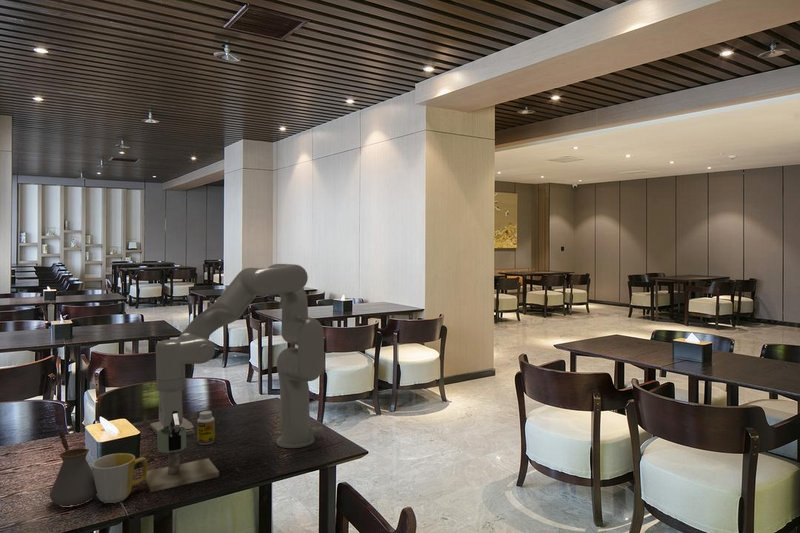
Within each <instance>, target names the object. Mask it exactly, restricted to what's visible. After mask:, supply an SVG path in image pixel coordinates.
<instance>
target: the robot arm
mask: <svg viewBox="0 0 800 533" xmlns="http://www.w3.org/2000/svg"><path fill="white" fill-rule="evenodd" d="M308 278H309V276H308V272H307V271H306V269H305V268H304V267H303V266H301V265H299V264H293V263H291V264H290V263H274V264H272V265H270V266H268V267H247V268H244V269H243V268H242V270H241V271H239V272H238V273H237V275H236V276H235V277H234V279H233V280H232V281H231V282H230V284H229V285H228V286H226V288H225V289H224V291H223V292H222V294H220V296H219V297H218V298H217V299H216V301H215V302H213V303H212V304H211V305H209V306H208V307H207V308H206V309H204V310H203V311H202V312H201V313H199V314H198V315H197V316H196V317H195V318H193V319H192V320H191V322H190V323H188V325H186V326H185V327H186V328H184V330H183V331H182V332H181V333H180V335H179V336H178V338H177V339H175V338H174V339H164V340H160V341H158V342H157V343H156V345H155V368H156V369H155V373H156V376H155V377H156V391H157V392H158V394H159V395H158V422H159V421H160V423H161V424H162V425H163V427H164V428H168V427H169V434H170V436H169V437H168V440H169V451H174V450H179V449H181V431H180V425H181V424H182V420H183V418H184V414H183V394H182V391H183V390H185V388H186V365H188V364H189V365H190V364H191V365H192V364H194V365H199V364H206V363H207V362H209V361H211V360H212V359H213V358H214V356H215V352H216V347H215V345H214V343H213V341H211V340H210V339H208V338H209V337H210V336H211V335H213V333H215V331H217V330H218V329H220V328H222V327H224V326H227V325H229V324H232V323H234V322H236V321H237V320H239V319H240V318H241V316H242V315H243V314H244V313H245V311H246V309H247V308H248V307H249V306H250V305H251V303H252V302H253V301H254V300H255V298H256V297H257V296H258V297H259V296H260V297H268V296H269V297H270V296H279V297H280V302H281V328H280V329H281V331H280V332H281V337H282V339H283V341H284V342H286V343H288V344H291V345H295V346H297V347H287V348H284V349H282V350H281V351H280V353H279V354H278V356H277V359H276V372H277V376H278V380H279V394H280V395H279V399H280V401H279V403H280V404H279V405H280V407H279V408H280V436H278V437H277V439H276V442H275V443H276V445H277V446H279V447H281V448H286V449H299V448H305V447H308V446H310V445H312V444H314V443H315V440H316V439H315V438H316V437H315V435H316V434H320V433H324V430H325V429H324V427H323V426H318V427H317V426H316V425H314V426H311V417H310V416H311V414H310V412H311V411H310V385H309V382H313V381H315V380H318V378H319V377H320V376H321V374H322V373H323V372H322V371H323V369H324V362H325V361H324V358H325V356H324V355H325V347H324V346H325V332H324V327H323V326H322V324H321V323H320V321H319V320H317V319H315V318H313V317H309V308H308V307H309V306H308V304H309V303H308V296H307V292H306V291H305V286H306V285H307V283H308ZM172 428H174V429H173V430H172Z"/></svg>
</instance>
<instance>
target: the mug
mask: <svg viewBox="0 0 800 533" xmlns="http://www.w3.org/2000/svg"><path fill="white" fill-rule="evenodd" d="M147 461H148V460H147V458H146V457H144V456H142V457H137V458H136V456H135V455H134V454H132V453H126V452H125V453H124V452H123V453H122V452H121V453H120V452H119V453H118V452H117V453H112V454H107V455H103V456H101V457H98V458H96V459H95V460H93V461H92V462H91V464H90V467H91V469H92V472H93V476H94V481H95V485H96V490H97V494H96V495H97V498H98V500H100V501H101V502H102V503H103V502H104V503H103V504H106V503H114V504H117V502H118V503H121V502H123V501H125V500H126V499H127V498H128V497H129V495H130V494H131V492H132V487H133V486H136V485H138V484H140V483H142V482H143V481H146V480H145V479H146V477H147V471H148V462H147ZM141 462H142V475H141V476H140V478H137V479H135V480H133V477H134V470H135V465H136V464H138V463H141ZM120 501H121V502H120Z"/></svg>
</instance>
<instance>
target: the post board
mask: <svg viewBox="0 0 800 533" xmlns="http://www.w3.org/2000/svg"><path fill="white" fill-rule="evenodd" d="M218 477H220V471H219V469H218V468H217V467H216V466H215V465H214V463H213V462H212V461H211V460H210V458H209V457H208V458H203V459H198V460H195V461H190V462H184V463H180V454H179V453H178V452H177V451H176V452H171V453H168V455H167V466H166V467H161V468H157V469H156V468H155V469H151V470H147V477H146V479H145V480H144V481H145V483H146V484H147V486H148V489H149V491H150V493H153V492H157V491H158V492H159V491H162V490H168V489H171V488H175V487H179V486H184V485H188V484H194V483H196V482H197V483H198V482H201V481H206V480H210V479H214V478H218Z"/></svg>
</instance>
